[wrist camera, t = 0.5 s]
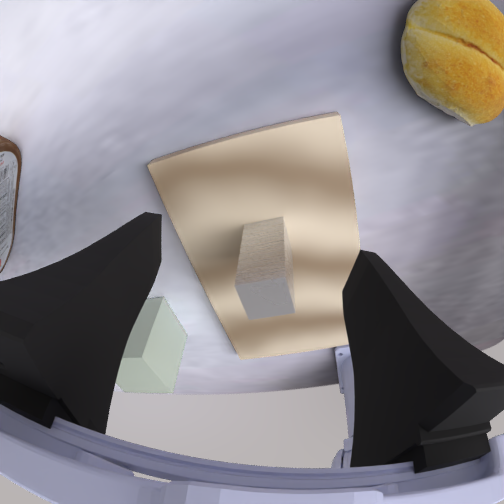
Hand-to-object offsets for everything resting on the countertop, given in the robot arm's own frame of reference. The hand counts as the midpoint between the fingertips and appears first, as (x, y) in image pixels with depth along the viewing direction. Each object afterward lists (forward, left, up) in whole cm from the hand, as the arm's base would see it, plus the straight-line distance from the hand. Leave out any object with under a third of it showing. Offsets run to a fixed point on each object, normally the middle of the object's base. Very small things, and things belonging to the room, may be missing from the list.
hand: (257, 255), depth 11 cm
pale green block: (-12, +14, -10) cm, 21 cm away
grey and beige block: (-5, +1, -10) cm, 11 cm away
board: (-8, +1, -10) cm, 13 cm away
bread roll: (+5, -14, -10) cm, 18 cm away
